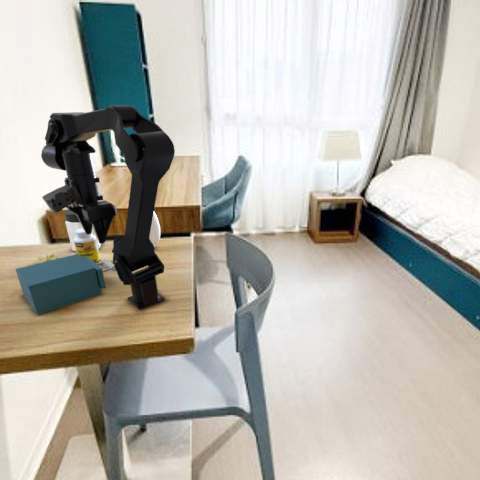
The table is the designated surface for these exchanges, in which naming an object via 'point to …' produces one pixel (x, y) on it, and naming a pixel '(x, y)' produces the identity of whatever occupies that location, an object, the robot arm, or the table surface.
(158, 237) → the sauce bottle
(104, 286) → the drawer
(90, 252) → the supplement bottle
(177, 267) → the table surface
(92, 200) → the robot arm
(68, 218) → the jar
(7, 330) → the table surface
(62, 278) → the cabinet
